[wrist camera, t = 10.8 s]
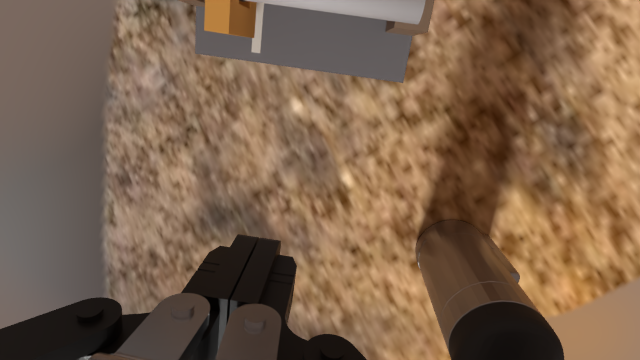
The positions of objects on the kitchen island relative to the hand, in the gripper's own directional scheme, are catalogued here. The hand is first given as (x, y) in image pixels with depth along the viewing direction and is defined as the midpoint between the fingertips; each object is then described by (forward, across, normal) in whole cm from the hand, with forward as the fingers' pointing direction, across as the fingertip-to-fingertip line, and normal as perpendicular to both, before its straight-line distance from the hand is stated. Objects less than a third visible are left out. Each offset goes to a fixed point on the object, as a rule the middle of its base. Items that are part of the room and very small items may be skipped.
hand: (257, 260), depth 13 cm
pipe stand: (+35, +3, -12) cm, 37 cm away
